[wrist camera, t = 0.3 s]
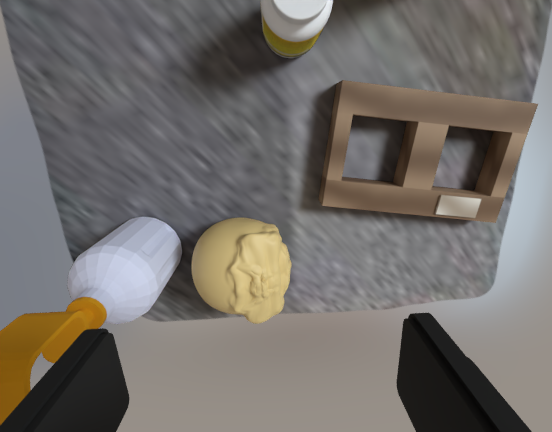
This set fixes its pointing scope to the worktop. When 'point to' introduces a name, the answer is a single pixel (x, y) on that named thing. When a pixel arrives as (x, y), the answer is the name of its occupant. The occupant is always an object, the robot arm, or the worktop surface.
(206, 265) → the sculpture
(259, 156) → the worktop surface
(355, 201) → the socket rack
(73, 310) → the soap bottle
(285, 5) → the pill bottle
